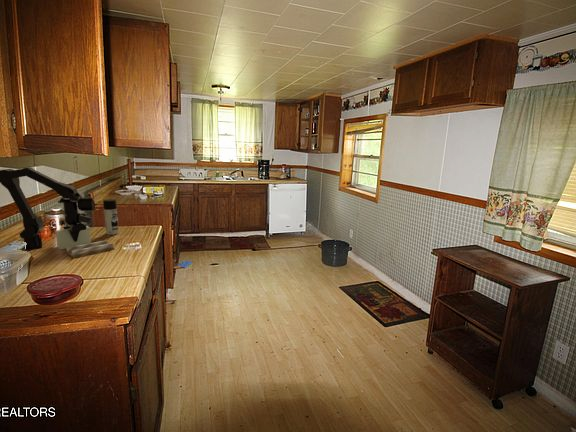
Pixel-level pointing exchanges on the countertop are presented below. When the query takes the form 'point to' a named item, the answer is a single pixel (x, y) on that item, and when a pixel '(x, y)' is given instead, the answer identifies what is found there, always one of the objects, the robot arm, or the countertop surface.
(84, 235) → the pale green rectangular block
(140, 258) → the countertop surface
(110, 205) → the spray can
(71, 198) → the robot arm
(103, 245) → the bottom track
